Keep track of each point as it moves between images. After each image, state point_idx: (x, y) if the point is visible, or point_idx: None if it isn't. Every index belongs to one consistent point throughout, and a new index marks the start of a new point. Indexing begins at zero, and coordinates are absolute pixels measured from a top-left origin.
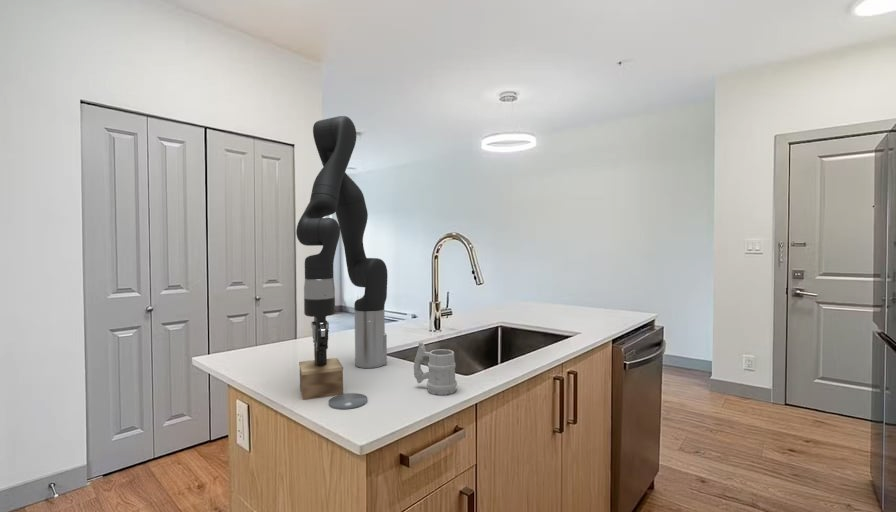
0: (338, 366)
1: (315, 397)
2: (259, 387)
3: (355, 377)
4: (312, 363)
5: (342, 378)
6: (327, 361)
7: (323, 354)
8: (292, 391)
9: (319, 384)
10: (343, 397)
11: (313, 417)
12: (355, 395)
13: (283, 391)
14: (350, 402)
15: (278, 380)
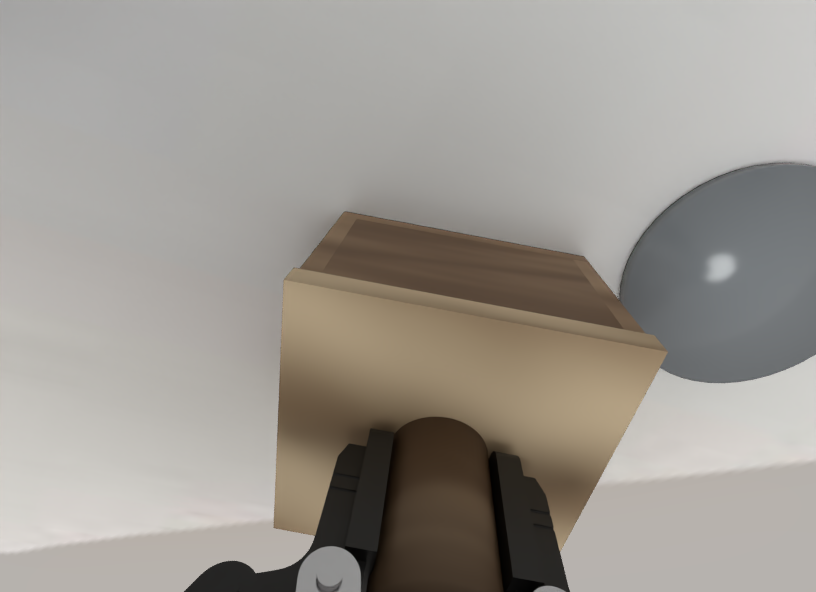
0: (611, 375)
1: None
2: (234, 510)
3: (277, 38)
4: None
5: (619, 305)
6: (374, 390)
7: (558, 570)
8: None
9: None
10: (689, 296)
11: (769, 460)
12: (722, 224)
13: None
14: (807, 294)
15: (156, 439)
